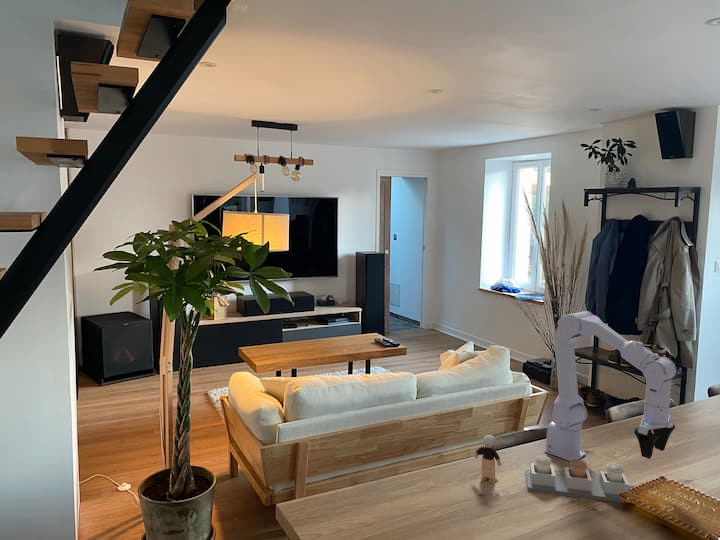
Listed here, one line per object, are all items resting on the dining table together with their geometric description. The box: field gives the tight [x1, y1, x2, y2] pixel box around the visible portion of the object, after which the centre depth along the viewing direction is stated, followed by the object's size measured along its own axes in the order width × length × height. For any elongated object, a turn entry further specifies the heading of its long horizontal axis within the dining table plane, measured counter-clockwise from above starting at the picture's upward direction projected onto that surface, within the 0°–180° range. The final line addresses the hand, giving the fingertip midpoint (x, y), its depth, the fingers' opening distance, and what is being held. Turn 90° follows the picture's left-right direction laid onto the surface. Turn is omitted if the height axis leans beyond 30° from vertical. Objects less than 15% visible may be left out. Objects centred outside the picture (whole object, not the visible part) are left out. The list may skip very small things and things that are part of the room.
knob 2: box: [606, 463, 624, 483], centre depth 142 cm, size 4×4×4 cm
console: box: [525, 462, 631, 504], centre depth 145 cm, size 26×10×4 cm, turn 76°
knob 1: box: [534, 455, 552, 474], centre depth 147 cm, size 4×4×4 cm
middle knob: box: [570, 459, 588, 478], centre depth 145 cm, size 4×4×4 cm
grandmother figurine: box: [473, 434, 502, 484], centre depth 149 cm, size 8×4×13 cm, turn 65°
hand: (652, 453), depth 144 cm, fingers open, 7 cm apart
